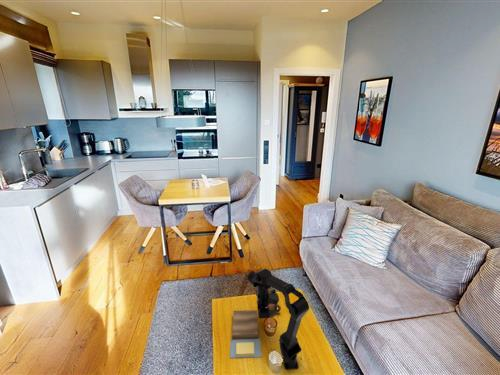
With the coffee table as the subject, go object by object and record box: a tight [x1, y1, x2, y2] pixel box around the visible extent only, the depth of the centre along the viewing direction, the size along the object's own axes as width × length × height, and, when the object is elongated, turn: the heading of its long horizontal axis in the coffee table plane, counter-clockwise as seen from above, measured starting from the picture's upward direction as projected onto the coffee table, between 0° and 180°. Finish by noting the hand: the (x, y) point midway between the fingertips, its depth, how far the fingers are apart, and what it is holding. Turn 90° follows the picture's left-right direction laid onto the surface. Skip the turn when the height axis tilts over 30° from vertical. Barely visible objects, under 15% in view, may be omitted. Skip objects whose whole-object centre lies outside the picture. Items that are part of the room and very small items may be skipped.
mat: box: [229, 338, 263, 359], centre depth 127 cm, size 10×16×1 cm, turn 91°
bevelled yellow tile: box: [236, 342, 254, 357], centre depth 125 cm, size 6×9×2 cm, turn 91°
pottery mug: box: [268, 303, 282, 318], centre depth 149 cm, size 12×10×8 cm
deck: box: [231, 309, 259, 340], centre depth 139 cm, size 16×14×4 cm
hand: (262, 315), depth 133 cm, fingers closed
